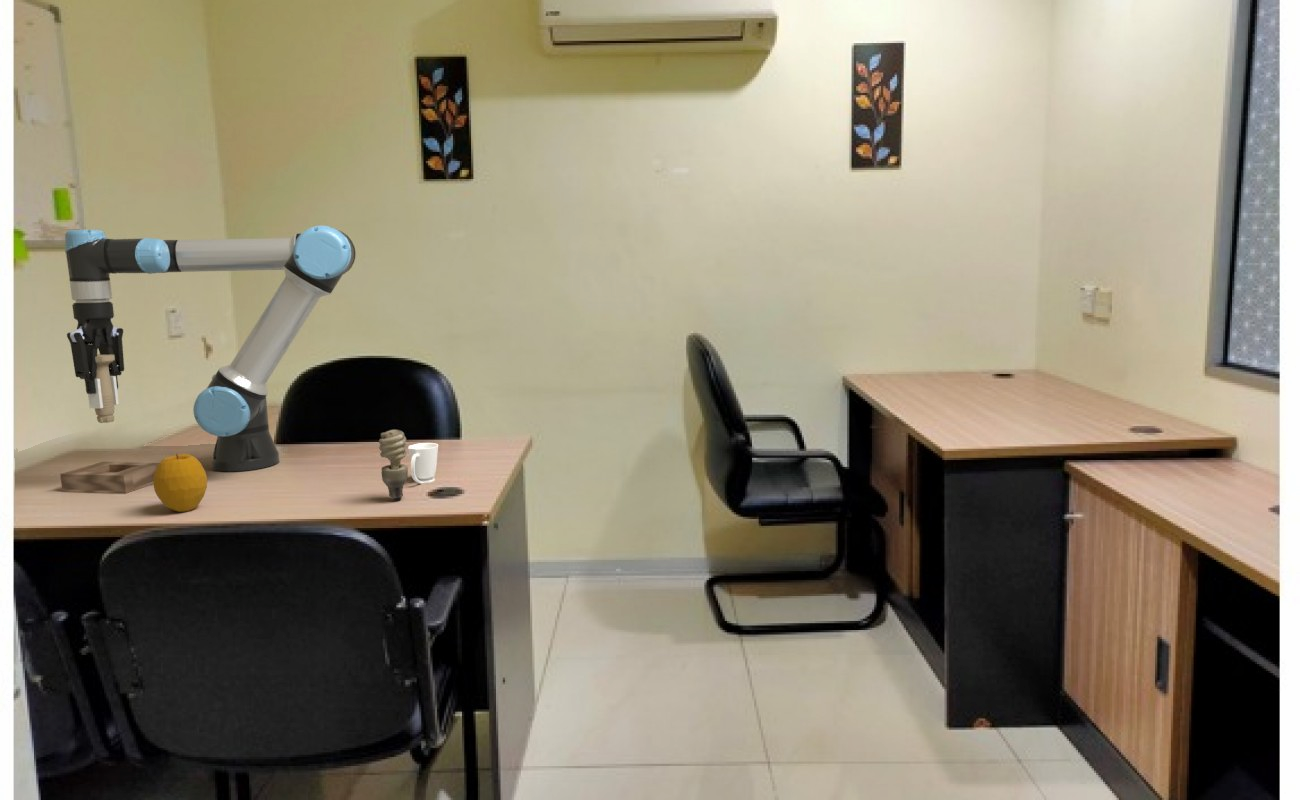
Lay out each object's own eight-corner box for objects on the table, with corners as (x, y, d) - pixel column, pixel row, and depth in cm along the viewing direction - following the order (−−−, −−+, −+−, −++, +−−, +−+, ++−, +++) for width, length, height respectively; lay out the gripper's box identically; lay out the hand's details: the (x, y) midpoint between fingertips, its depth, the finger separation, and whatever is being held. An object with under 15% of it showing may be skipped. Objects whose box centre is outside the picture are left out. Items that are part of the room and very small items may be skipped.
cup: (446, 477, 200) (444, 442, 199) (428, 488, 190) (426, 452, 189) (417, 476, 201) (414, 442, 200) (398, 487, 192) (396, 451, 190)
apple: (171, 503, 182) (165, 448, 180) (218, 502, 183) (213, 447, 181) (147, 517, 172) (140, 459, 171) (197, 515, 173) (191, 457, 171)
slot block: (164, 479, 203) (163, 463, 202) (125, 493, 191) (123, 475, 190) (104, 478, 205) (102, 461, 205) (62, 491, 194) (60, 474, 193)
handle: (108, 424, 193) (100, 356, 190) (85, 423, 194) (77, 356, 192) (126, 420, 197) (119, 354, 195) (103, 419, 199) (96, 354, 197)
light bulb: (413, 501, 180) (409, 430, 178) (387, 505, 177) (382, 433, 175) (405, 495, 185) (400, 426, 183) (379, 499, 182) (374, 429, 180)
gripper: (107, 299, 200) (118, 400, 204) (44, 303, 184) (58, 412, 188) (136, 299, 199) (147, 400, 203) (75, 303, 183) (89, 413, 186)
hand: (104, 406), depth 195 cm, fingers closed on handle, 4 cm apart
